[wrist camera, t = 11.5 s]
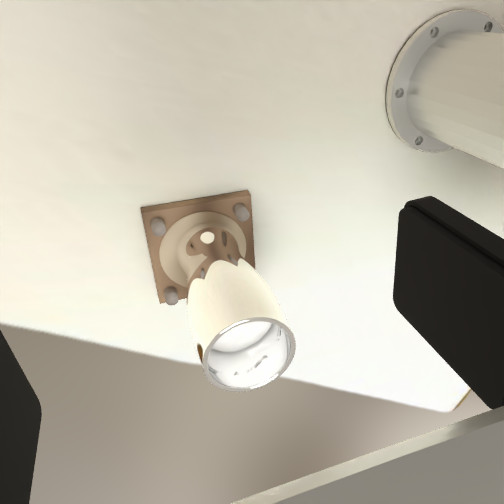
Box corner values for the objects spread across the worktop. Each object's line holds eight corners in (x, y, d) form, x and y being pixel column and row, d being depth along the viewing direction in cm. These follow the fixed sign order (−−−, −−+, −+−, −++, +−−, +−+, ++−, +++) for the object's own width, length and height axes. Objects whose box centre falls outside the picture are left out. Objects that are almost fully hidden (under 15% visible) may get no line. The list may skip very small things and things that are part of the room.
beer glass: (234, 207, 41) (290, 301, 28) (249, 267, 45) (305, 373, 32) (161, 231, 40) (186, 338, 27) (183, 290, 44) (214, 408, 31)
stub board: (247, 190, 42) (255, 201, 40) (252, 277, 47) (260, 291, 45) (140, 207, 40) (142, 220, 38) (158, 296, 45) (161, 312, 43)
